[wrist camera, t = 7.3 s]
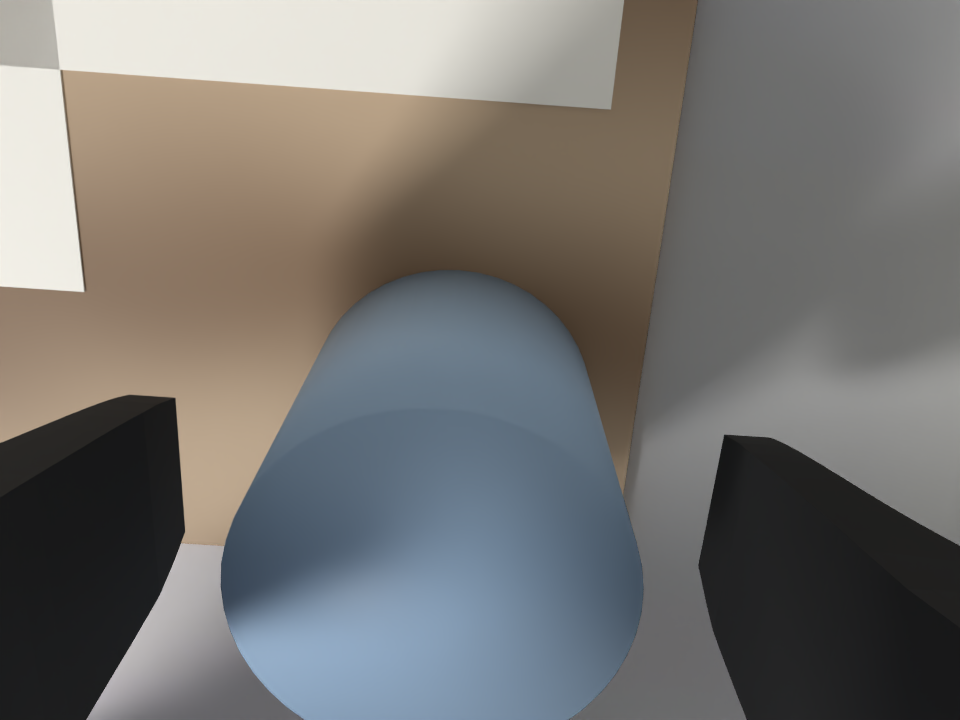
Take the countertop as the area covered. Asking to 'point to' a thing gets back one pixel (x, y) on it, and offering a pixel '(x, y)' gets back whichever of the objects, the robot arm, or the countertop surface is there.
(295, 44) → the letter T
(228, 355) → the board
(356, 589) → the blue cylinder
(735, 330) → the countertop surface
